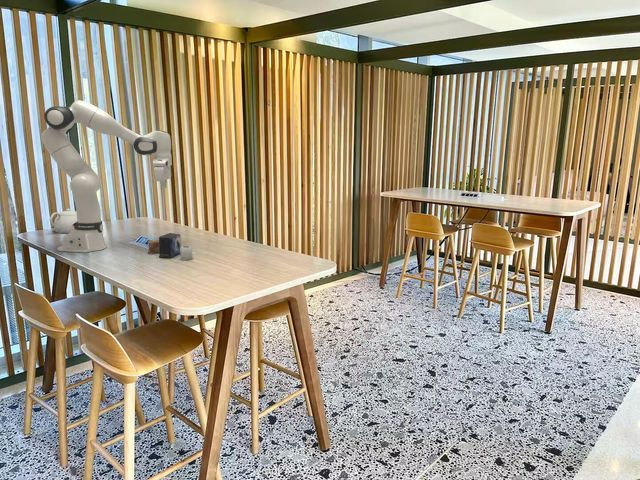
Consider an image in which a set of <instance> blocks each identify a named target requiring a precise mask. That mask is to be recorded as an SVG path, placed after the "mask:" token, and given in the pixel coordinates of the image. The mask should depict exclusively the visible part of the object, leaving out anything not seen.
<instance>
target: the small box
mask: <svg viewBox="0 0 640 480" xmlns="http://www.w3.org/2000/svg"><path fill="white" fill-rule="evenodd" d="M158 240H159V254H158V255H159V258H163V259H173V258H174V257H176V256H179V255H180V247H181V246H182V244H181V243H182V242H181V240H182V239H181V233H173V232H169V233H166V234H164V235H161V236H158Z"/></svg>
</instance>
